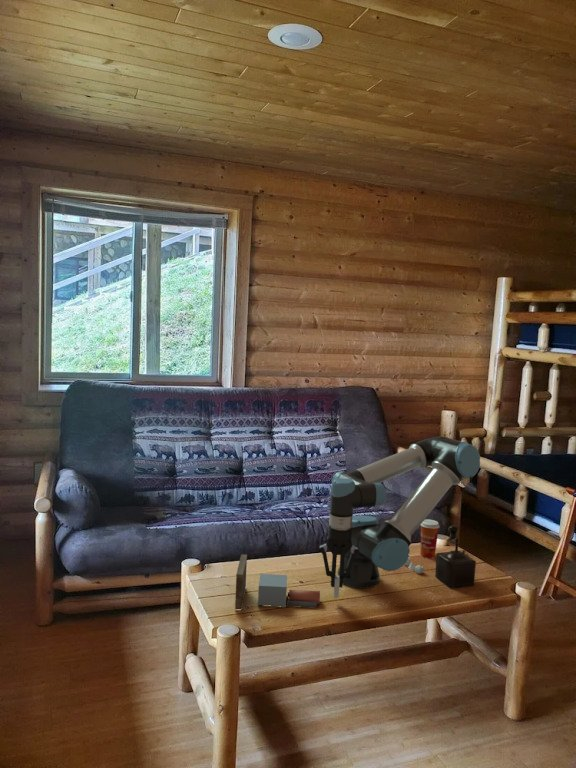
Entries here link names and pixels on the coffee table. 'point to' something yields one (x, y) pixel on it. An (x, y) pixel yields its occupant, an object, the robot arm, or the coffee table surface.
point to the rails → (301, 603)
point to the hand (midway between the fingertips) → (335, 596)
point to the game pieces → (417, 568)
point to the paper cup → (429, 538)
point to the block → (272, 590)
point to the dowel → (304, 595)
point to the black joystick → (455, 565)
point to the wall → (240, 581)
